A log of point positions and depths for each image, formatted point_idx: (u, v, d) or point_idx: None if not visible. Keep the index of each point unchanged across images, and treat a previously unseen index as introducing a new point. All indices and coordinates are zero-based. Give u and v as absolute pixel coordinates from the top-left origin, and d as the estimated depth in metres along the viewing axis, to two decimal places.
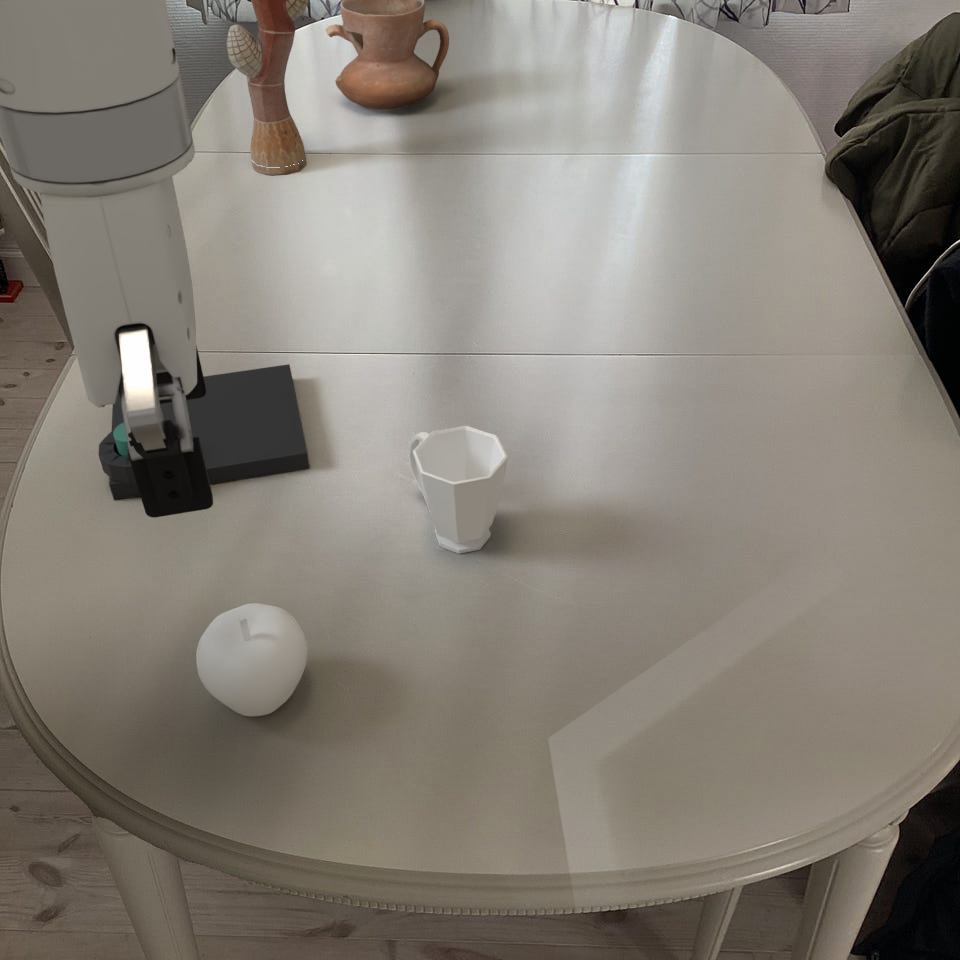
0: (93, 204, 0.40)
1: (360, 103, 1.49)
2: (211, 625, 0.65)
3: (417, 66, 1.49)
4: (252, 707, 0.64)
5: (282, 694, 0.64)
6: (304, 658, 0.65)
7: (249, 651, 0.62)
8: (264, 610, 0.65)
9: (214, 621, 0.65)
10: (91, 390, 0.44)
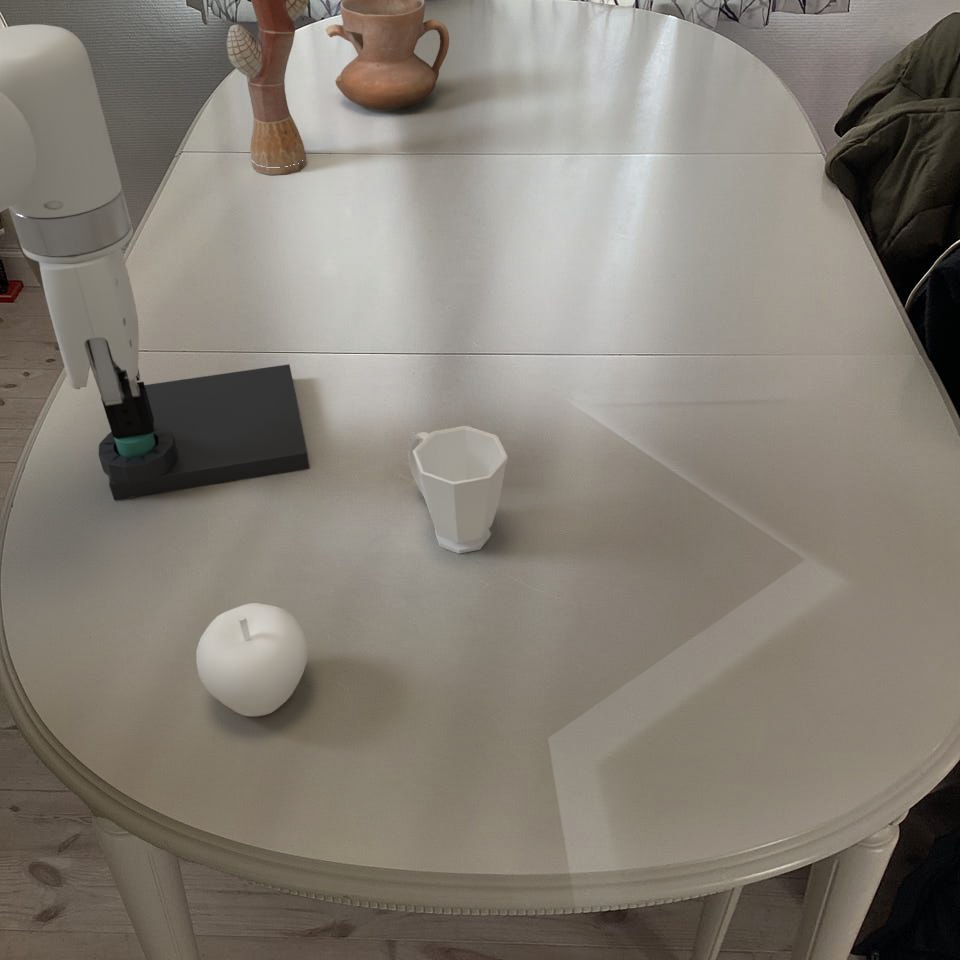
0: (70, 268, 0.68)
1: (360, 103, 1.49)
2: (211, 625, 0.65)
3: (417, 66, 1.49)
4: (252, 707, 0.64)
5: (282, 694, 0.64)
6: (304, 658, 0.65)
7: (249, 651, 0.62)
8: (264, 610, 0.65)
9: (214, 621, 0.65)
10: (71, 378, 0.73)
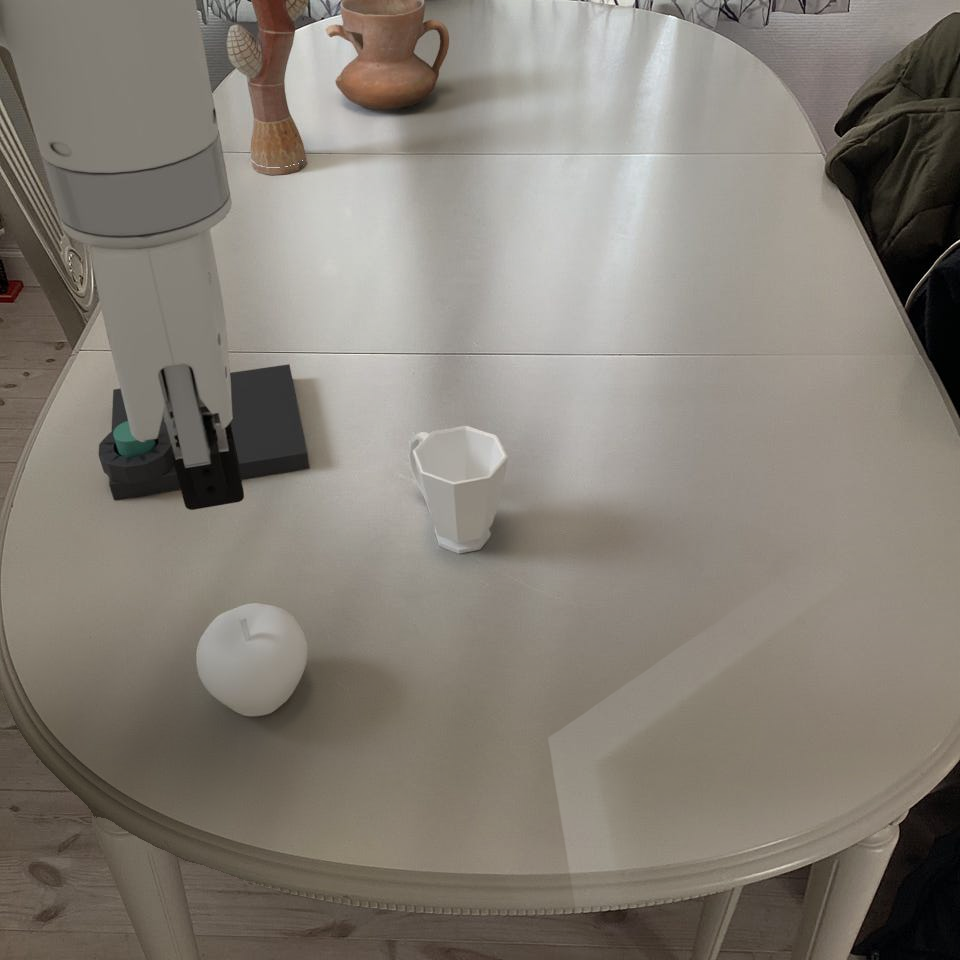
0: (141, 256, 0.43)
1: (360, 103, 1.49)
2: (211, 625, 0.65)
3: (417, 66, 1.49)
4: (252, 707, 0.64)
5: (282, 694, 0.64)
6: (304, 658, 0.65)
7: (249, 651, 0.62)
8: (264, 610, 0.65)
9: (214, 621, 0.65)
10: (135, 427, 0.47)
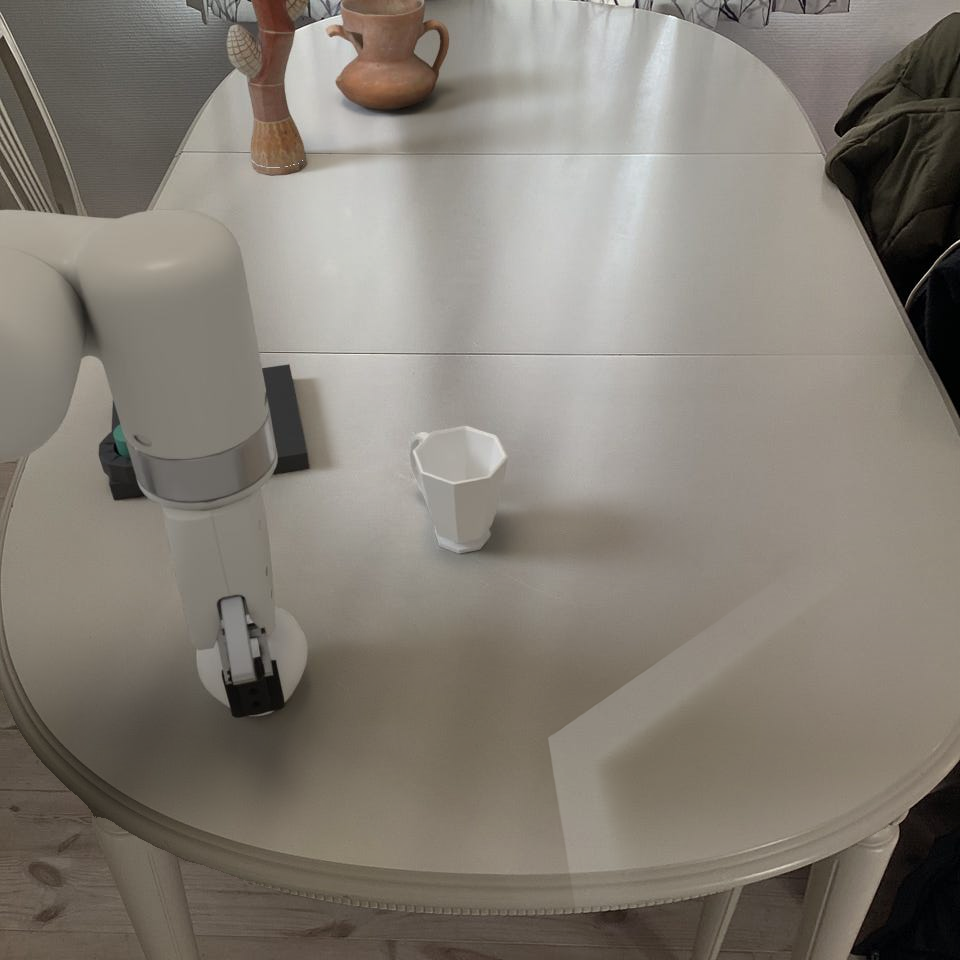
0: (206, 518, 0.52)
1: (360, 103, 1.49)
2: None
3: (417, 66, 1.49)
4: None
5: None
6: (304, 658, 0.65)
7: None
8: None
9: None
10: (195, 641, 0.56)
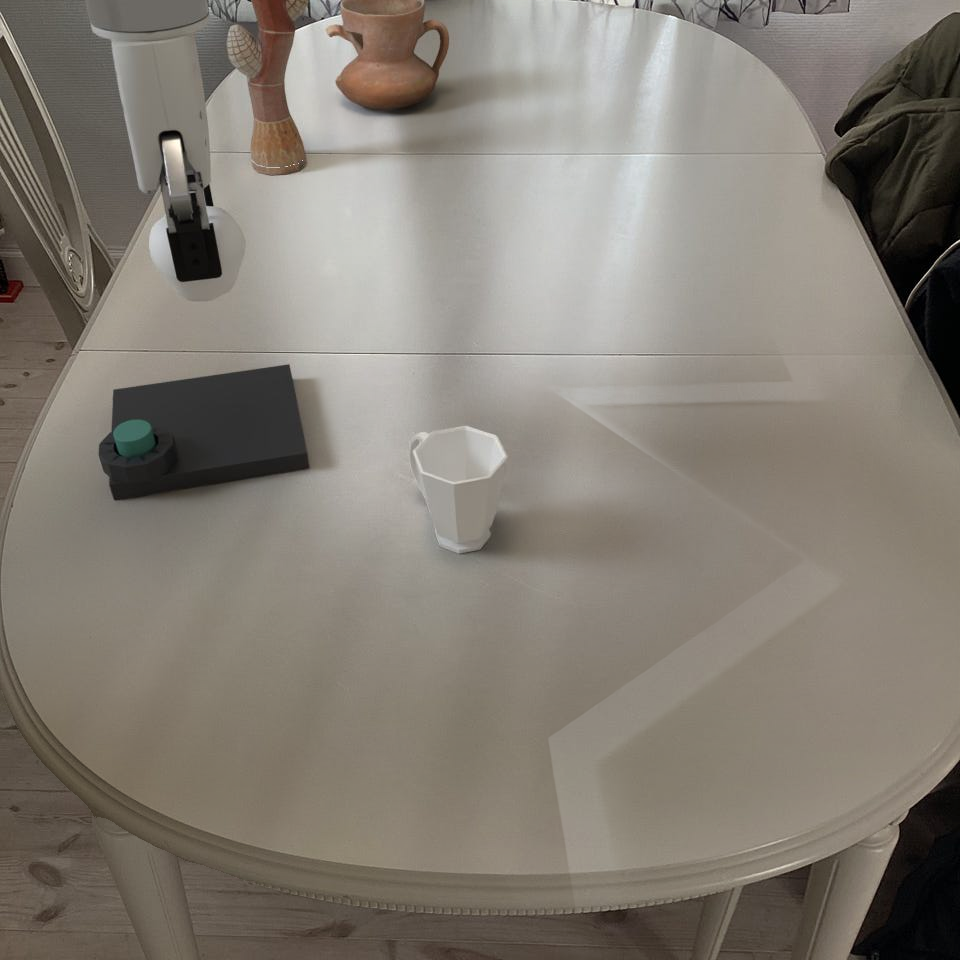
0: (147, 45, 0.63)
1: (360, 103, 1.49)
2: (162, 217, 0.75)
3: (417, 66, 1.49)
4: (195, 281, 0.74)
5: (222, 271, 0.75)
6: (241, 245, 0.75)
7: None
8: (208, 206, 0.76)
9: (165, 214, 0.76)
10: (141, 179, 0.67)
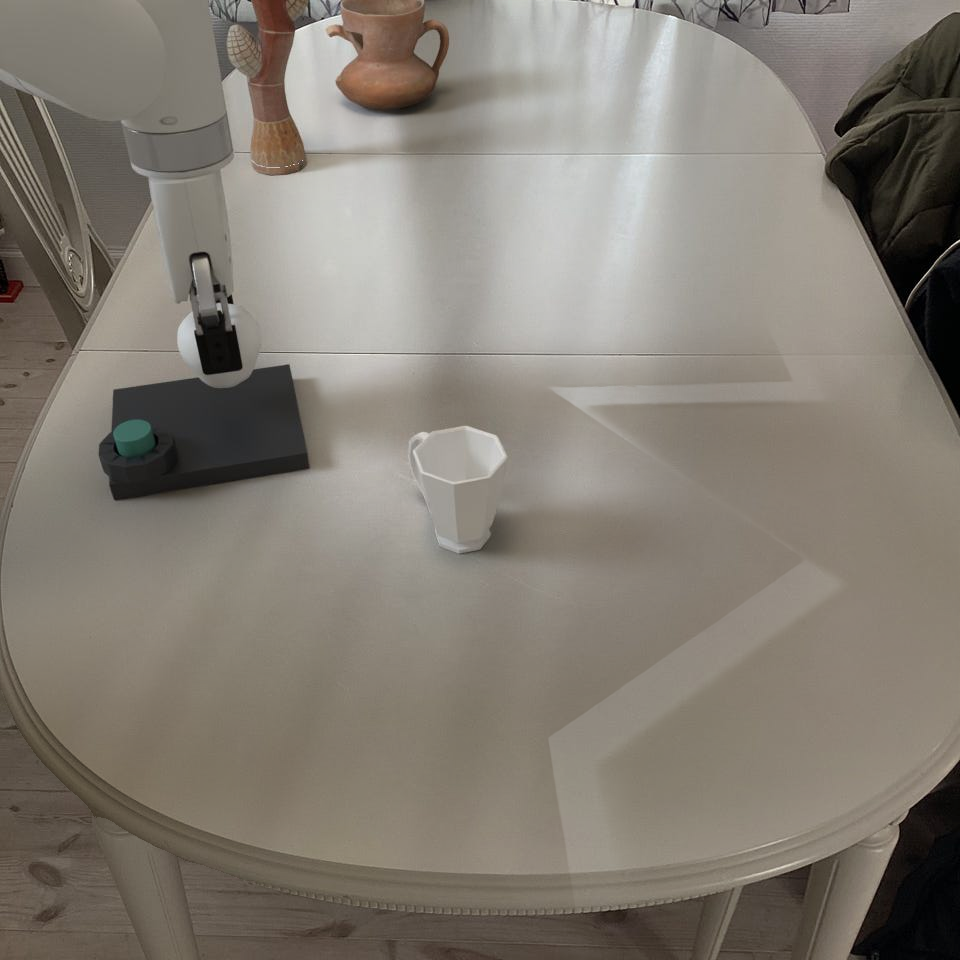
0: (180, 183, 0.73)
1: (360, 103, 1.49)
2: None
3: (417, 66, 1.49)
4: None
5: (242, 363, 0.84)
6: (259, 339, 0.85)
7: None
8: (229, 305, 0.86)
9: (191, 312, 0.85)
10: (173, 292, 0.77)
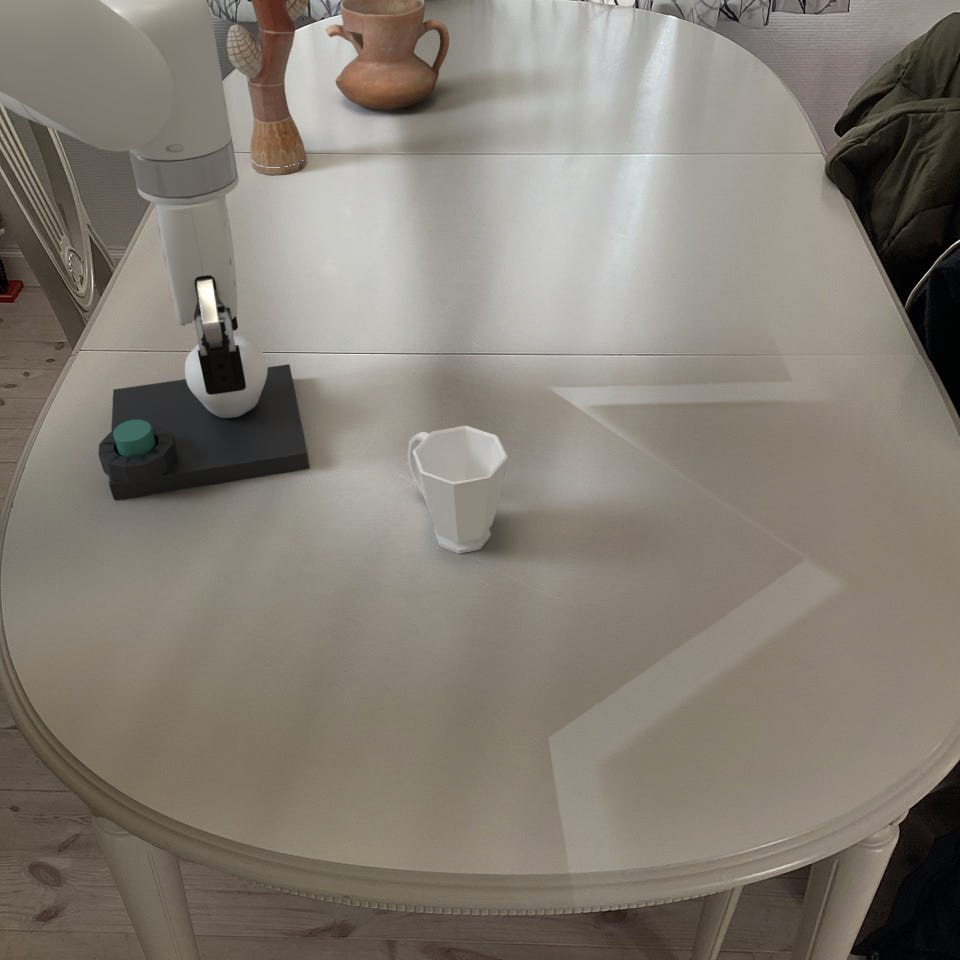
0: (186, 209, 0.74)
1: (360, 103, 1.49)
2: (196, 346, 0.87)
3: (417, 66, 1.49)
4: (225, 403, 0.86)
5: (248, 394, 0.86)
6: (264, 371, 0.87)
7: None
8: (235, 336, 0.88)
9: (198, 344, 0.87)
10: (179, 314, 0.78)
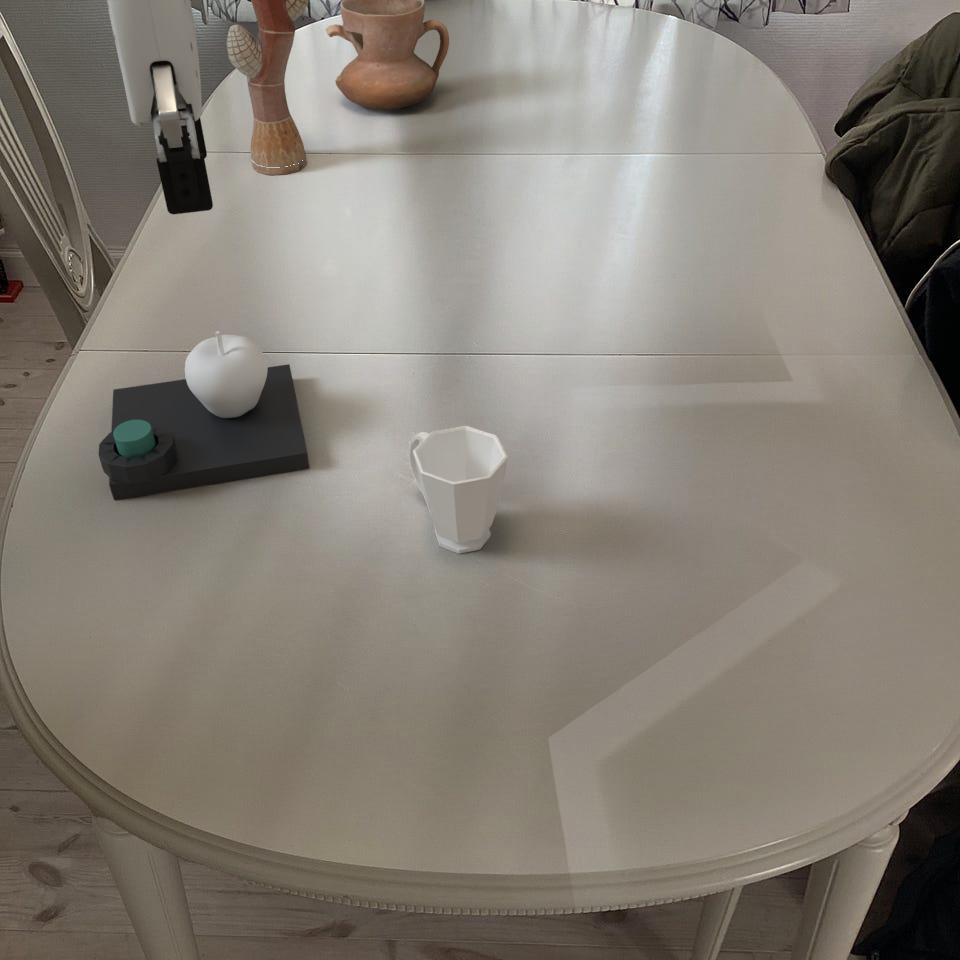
0: None
1: (360, 103, 1.49)
2: None
3: (417, 66, 1.49)
4: (225, 403, 0.86)
5: (248, 394, 0.86)
6: (264, 371, 0.87)
7: (223, 358, 0.85)
8: (235, 336, 0.88)
9: (198, 344, 0.87)
10: (133, 110, 0.68)
